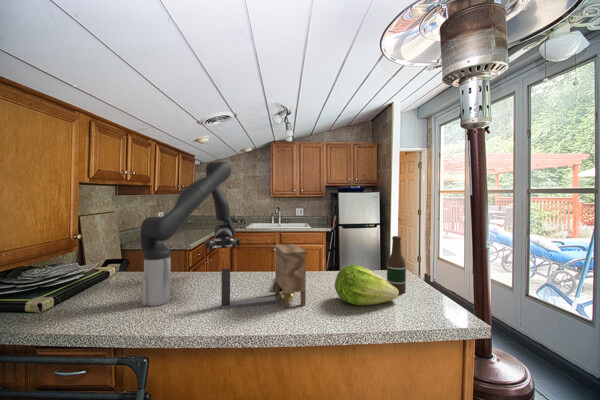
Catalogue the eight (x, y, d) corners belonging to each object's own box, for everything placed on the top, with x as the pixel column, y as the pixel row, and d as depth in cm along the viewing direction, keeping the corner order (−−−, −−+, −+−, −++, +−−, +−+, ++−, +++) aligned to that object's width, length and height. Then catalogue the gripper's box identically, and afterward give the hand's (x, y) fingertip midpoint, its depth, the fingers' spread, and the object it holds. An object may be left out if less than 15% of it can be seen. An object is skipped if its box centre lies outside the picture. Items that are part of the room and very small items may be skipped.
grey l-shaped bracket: (221, 309, 100) (221, 271, 100) (221, 305, 103) (221, 268, 103) (277, 302, 106) (277, 266, 106) (275, 299, 110) (275, 264, 110)
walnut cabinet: (284, 309, 100) (284, 253, 99) (274, 293, 116) (274, 245, 116) (307, 306, 102) (308, 251, 102) (294, 291, 119) (294, 244, 119)
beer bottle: (386, 292, 117) (386, 237, 117) (387, 287, 125) (387, 234, 124) (405, 295, 114) (405, 238, 114) (405, 289, 122) (406, 235, 121)
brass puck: (282, 302, 106) (282, 296, 106) (279, 298, 111) (279, 292, 111) (295, 301, 108) (295, 295, 108) (291, 297, 113) (291, 291, 113)
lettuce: (383, 305, 116) (395, 327, 100) (329, 285, 115) (333, 305, 99) (397, 274, 114) (411, 292, 98) (342, 254, 113) (348, 269, 97)
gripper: (207, 231, 125) (203, 239, 109) (239, 229, 128) (240, 236, 112) (208, 247, 126) (204, 257, 110) (239, 244, 129) (240, 254, 113)
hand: (222, 247), depth 111 cm, fingers open, 8 cm apart
